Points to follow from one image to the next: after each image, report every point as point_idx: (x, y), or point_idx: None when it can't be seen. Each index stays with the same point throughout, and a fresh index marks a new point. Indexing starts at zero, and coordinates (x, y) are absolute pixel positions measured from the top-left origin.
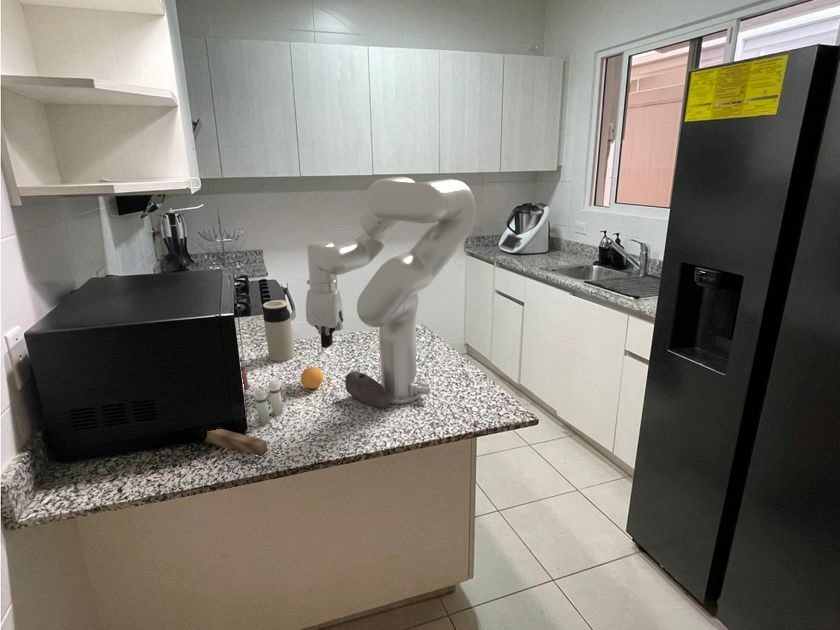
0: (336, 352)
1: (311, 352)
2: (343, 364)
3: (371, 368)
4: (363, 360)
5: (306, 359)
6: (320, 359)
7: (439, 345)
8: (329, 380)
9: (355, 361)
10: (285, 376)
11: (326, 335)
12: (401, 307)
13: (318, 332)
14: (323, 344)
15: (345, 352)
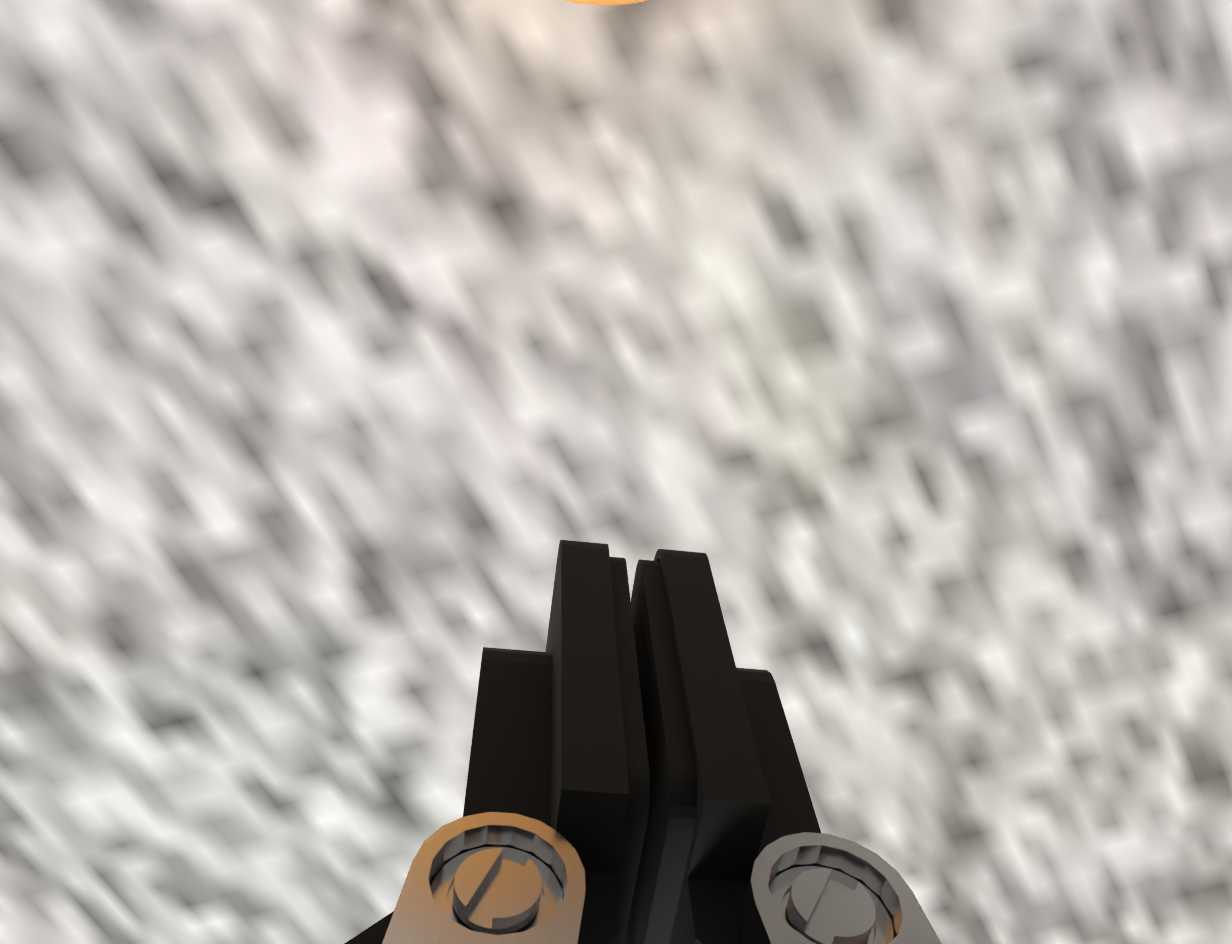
0: None
1: (1078, 830)
2: None
3: (51, 663)
4: (307, 823)
5: (1078, 658)
6: (889, 705)
7: None
8: (442, 137)
9: (395, 774)
10: (1226, 83)
11: (552, 829)
12: None
13: (909, 889)
14: (657, 598)
15: None
